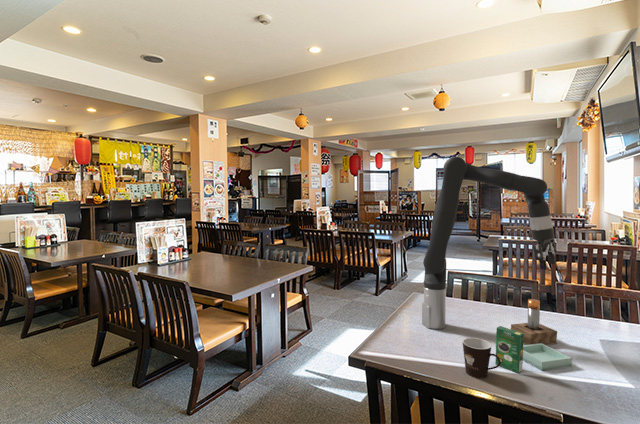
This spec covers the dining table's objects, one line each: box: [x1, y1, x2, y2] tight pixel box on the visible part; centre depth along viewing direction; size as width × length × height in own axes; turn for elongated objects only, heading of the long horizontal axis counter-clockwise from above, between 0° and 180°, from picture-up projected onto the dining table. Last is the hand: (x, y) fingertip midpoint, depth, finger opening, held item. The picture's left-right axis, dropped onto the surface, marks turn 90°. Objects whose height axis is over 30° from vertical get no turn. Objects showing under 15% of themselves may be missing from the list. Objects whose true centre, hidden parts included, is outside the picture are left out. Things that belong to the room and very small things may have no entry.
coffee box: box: [495, 325, 524, 374], centre depth 114 cm, size 8×3×13 cm, turn 35°
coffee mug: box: [462, 337, 501, 379], centre depth 109 cm, size 12×9×10 cm
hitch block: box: [510, 322, 558, 346], centre depth 136 cm, size 12×10×5 cm
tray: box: [523, 343, 573, 372], centre depth 119 cm, size 12×12×3 cm
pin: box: [527, 298, 541, 331], centre depth 136 cm, size 4×4×16 cm
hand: (548, 266), depth 137 cm, fingers open, 8 cm apart
